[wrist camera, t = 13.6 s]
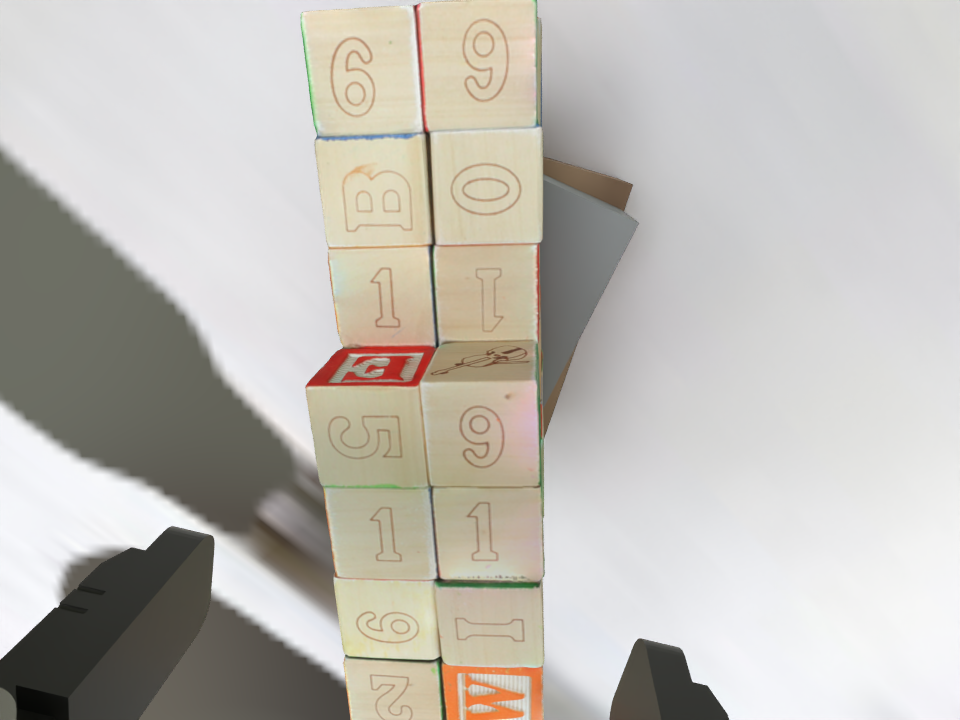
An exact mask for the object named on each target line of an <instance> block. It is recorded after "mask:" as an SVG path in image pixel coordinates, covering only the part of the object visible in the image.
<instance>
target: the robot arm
mask: <svg viewBox="0 0 960 720" xmlns="http://www.w3.org/2000/svg"><path fill="white" fill-rule="evenodd" d="M213 558H214V538H213V536H211V535H208V534H204V533H200V532H195V531H191V530H187V529H183V528H178V527H174V526H171V527H169V528H167V529H166V530H165V531H164V532H163V533H162V534H161V535H160V536H159V537H158V538H157V539H156V540H155V541H154V542H153V543H152V544H151V545H150V546H149V547H148V548H147V549H146V550H141V549H136V548H130V549H128V550H126V551H124V552H122V553H120V554H118V555H116V556H114V557H112V558H111V559H109V560H107V561H105V562H103V563H101V564H100V565H99V566H98V567H97V568H96V569H95V570H94V571H93V572H92V573H91V574H90V575H89V576H88V577H87V578H85V579H84V581H82V582H81V583H80V584H79V587H78V589H77V590H76V589H74V590H73V591H72V592H71V593H70V594H69V595H68V596H67V597H66V598H65V599H64V600H63V601H61V602H60V605H59V607H58V608H54V609H53V610H52V611H51V612H50V613H49V614H48V615H47V616H46V617H45V618H44V619H43V620H42V621H41V622H40V623H39V624H37V625H36V626H35V627H34V628H33V629H32V630H31V631H30V632H29V633H28V634H27V635H26V636H25V637H24V638H23V639H22V640H21V641H20V642H19V643H18V644H17V645H16V646H14V647H13V648H12V649H11V650H10V651H9V652H8V653H7V654H6V655H5V656H4V657H3V658H2V659H1V660H0V720H139V718H140V717H141V715H142V714H143V712H144V711H145V710H146V708H147V706H148V705H149V703H150V702H151V701H152V699H153V698H154V696H155V695H156V694H157V692H158V691H159V689H160V688H161V686H162V685H163V684H164V682H165V681H166V679H167V678H168V676H169V675H170V674H171V672H172V671H173V669H174V668H175V666H176V665H177V664H178V662H179V661H180V659H181V658H182V656H183V655H184V653H185V652H186V651H187V649H188V648H189V646H190V645H191V643H192V642H193V641H194V639H195V638H196V636H197V634H198V633H199V631H200V629H201V627H202V625H203V623H204V620H205V618H206V615H207V612H208V609H209V605H210V598H211V585H212V572H213ZM610 720H729V718H728V715H727V713H726V712H725V710H724V709H723V707H722V706H721V704H720V703H719V702H718V700H717V699H716V697H715V696H714V695H713V693H712V692H711V690H710V689H709V687H708V686H706V685H702V684H698V683H694V682H692V680H691V676H690V673H689V669H688V666H687V662H686V659H685V656H684V653H683V651H682V650H681V649H680V648H679V647H674V646H670V645H666V644H662V643H658V642H653V641H649V640H645V639H638V640H637V641H636V642H635V644H634V646H633V649H632V651H631V654H630V656H629V659H628V662H627V664H626V667H625V669H624V672H623V674H622V677H621V680H620V682H619V685H618V687H617V690H616V693H615V695H614V698H613V701H612V706H611V712H610Z"/></svg>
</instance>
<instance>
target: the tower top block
mask: <svg viewBox="0 0 960 720" xmlns="http://www.w3.org/2000/svg"><path fill="white" fill-rule="evenodd" d="M638 224H639V223H638V222H637V221H635V220H634V219H633V218H631V217H630V216H629V215H627V214H626V213H625V212H624V211H622V210H621V209H619V208H617V207H615V206H612V205H610V204H608V203H606V202H604V201H602V200H599V199H597V198H595V197H593V196H591V195H588V194H586V193H584V192H582V191H580V190H577V189H575V188H573V187H571V186H569V185H566V184H564V183H562V182H560V181H558V180H556V179H553V178H551V177H549V176H547V175H545V174H543V239H542V241H541V242H540V286H541V349H542V350H543V403H542V406H543V408H544V406H545V404H546V402H547V400H548V399H549V397H550V395H551V393H552V391H553V389H554V387H555V385H556V383H557V381H558V379H559V377H560V375H561V373H562V371H563V369H564V368H565V366H566V364H567V362H568V360H569V358H570V356H571V354H572V352H573V350H574V348H575V346H576V344H577V342H578V340H579V338H580V337H581V335H582V333H583V331H584V329H585V327H586V325H587V323H588V321H589V319H590V317H591V315H592V313H593V311H594V309H595V307H596V306H597V304H598V302H599V300H600V298H601V296H602V294H603V292H604V290H605V288H606V286H607V284H608V282H609V280H610V278H611V276H612V274H613V273H614V271H615V269H616V267H617V265H618V263H619V261H620V259H621V257H622V255H623V253H624V251H625V249H626V247H627V245H628V243H629V242H630V240H631V238H632V236H633V234H634V232H635V230H636V228H637V226H638Z"/></svg>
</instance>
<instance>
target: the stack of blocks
mask: <svg viewBox="0 0 960 720" xmlns="http://www.w3.org/2000/svg"><path fill="white" fill-rule="evenodd" d="M301 30H302V37H303V44H304V52H305V60H306V68H307V75H308V82H309V92H310V101H311V108H312V113H313V120H314V126H315V129H316V132H317V137H316V139H315V154H316V161H317V169H318V177H319V186H320V194H321V201H322V208H323V215H324V223H325V234H326V241H327V244H328V247H329V249H328V264H329V270H330V279H331V287H332V294H333V300H334V307H335V314H336V321H337V329H338V334H339V337H340V341H341V343H342V345H343V348H342V349H340V350H338V351H337V352H336V353H335V354H334V355H333V356H331V358H330V359H329V361H328V362H327V363H326V364H325V365H324V366H323V367H322V368H321V369H320V370H319V371H318V372H317V373H316V374H315V376H314V377H313V378H312V379H311V380H310V381H309V382H308V384H307V385H306V387H305V388H306V396H307V403H308V409H309V416H310V422H311V429H312V434H313V440H314V447H315V455H316V461H317V468H318V474H319V481H320V483H321V484H322V486H323V488H324V497H325V507H326V514H327V521H328V527H329V533H330V538H331V547H332V554H333V561H334V567H335V571H336V572H335V574H334V588H335V595H336V603H337V610H338V617H339V624H340V631H341V638H342V645H343V651H344V654H345V658H344V670H345V678H346V687H347V695H348V702H349V711H350V718H351V720H544V711H543V664H544V621H543V582H542V578H543V577H544V574H545V572H544V544H543V517H544V430H543V406H542V403H543V350H542V349H541V286H540V242H541V241H542V239H543V129H542V24H541V18H538V17H537V0H453V1H438V2H421V3H419V4H418V5H415V6H385V7H367V8H354V9H335V10H318V11H307V12H302V13H301Z"/></svg>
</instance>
